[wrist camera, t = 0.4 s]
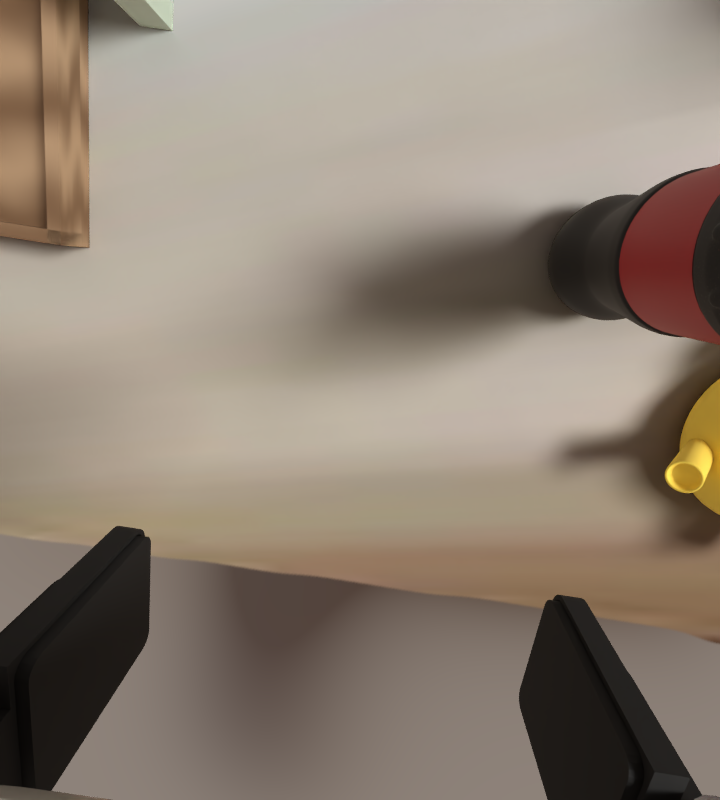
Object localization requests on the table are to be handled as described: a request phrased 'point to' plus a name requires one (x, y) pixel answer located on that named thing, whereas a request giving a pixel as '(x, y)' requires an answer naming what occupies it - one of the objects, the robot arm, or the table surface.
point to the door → (150, 12)
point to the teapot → (700, 452)
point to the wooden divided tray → (44, 121)
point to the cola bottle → (647, 257)
